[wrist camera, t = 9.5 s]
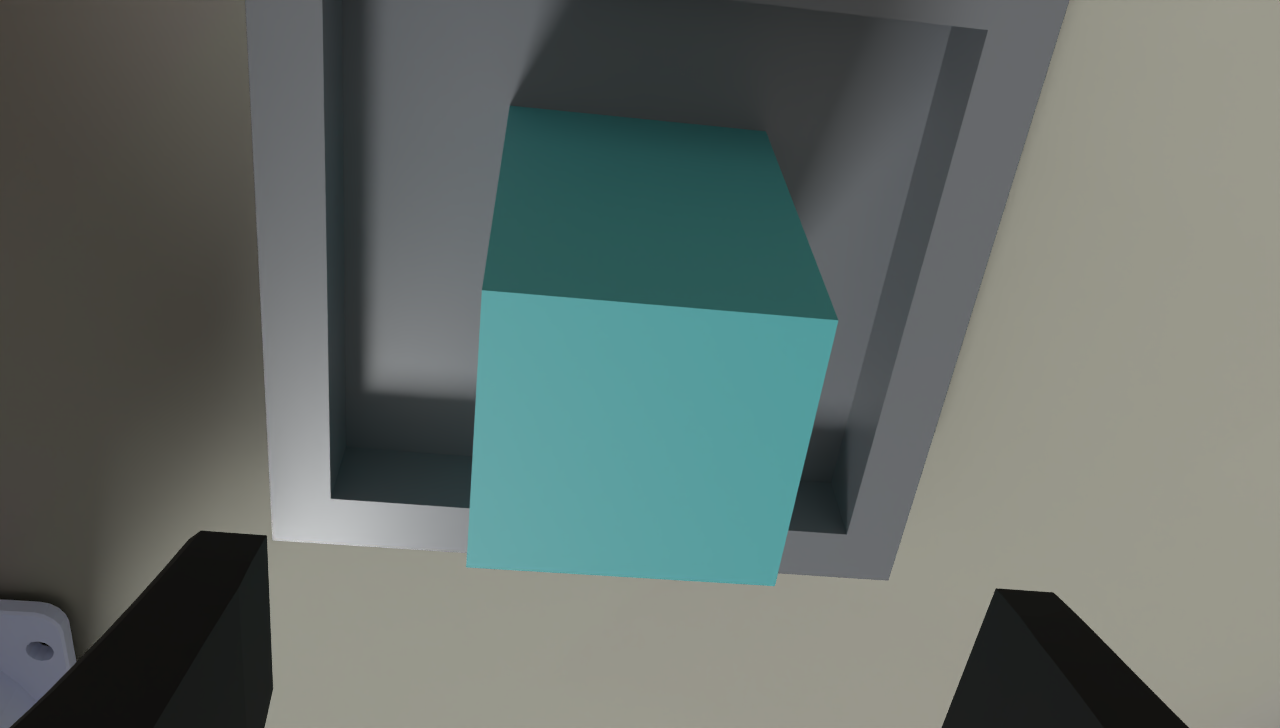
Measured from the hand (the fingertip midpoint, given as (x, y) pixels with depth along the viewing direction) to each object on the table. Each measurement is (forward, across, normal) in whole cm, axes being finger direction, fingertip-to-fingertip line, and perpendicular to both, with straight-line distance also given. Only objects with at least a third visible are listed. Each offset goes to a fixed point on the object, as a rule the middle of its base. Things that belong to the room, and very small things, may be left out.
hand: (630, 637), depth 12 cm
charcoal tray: (+9, 0, 0) cm, 9 cm away
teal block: (+9, 0, 0) cm, 9 cm away
